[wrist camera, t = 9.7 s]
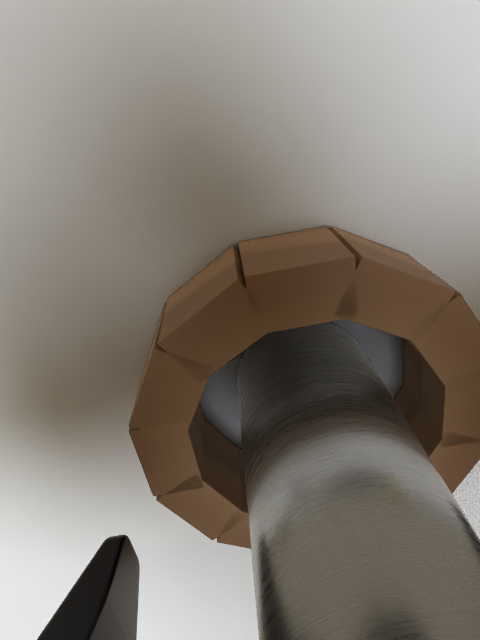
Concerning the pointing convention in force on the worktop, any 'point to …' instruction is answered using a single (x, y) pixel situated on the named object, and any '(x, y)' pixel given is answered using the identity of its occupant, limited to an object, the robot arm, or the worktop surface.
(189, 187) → the worktop surface
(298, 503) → the grey metal peg
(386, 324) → the brown segmented ring
